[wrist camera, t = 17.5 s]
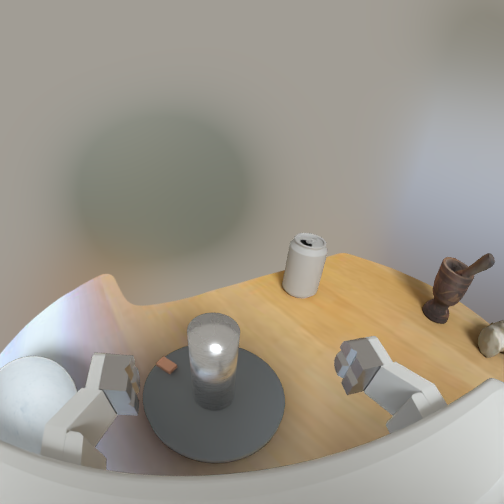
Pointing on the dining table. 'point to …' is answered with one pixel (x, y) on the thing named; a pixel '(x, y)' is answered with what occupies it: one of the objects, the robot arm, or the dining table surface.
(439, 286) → the mortar and pestle
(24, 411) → the chinaware
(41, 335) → the dining table surface
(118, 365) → the robot arm
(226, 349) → the clear drinking glass
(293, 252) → the can
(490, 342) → the ceramic sculpture
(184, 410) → the disc
